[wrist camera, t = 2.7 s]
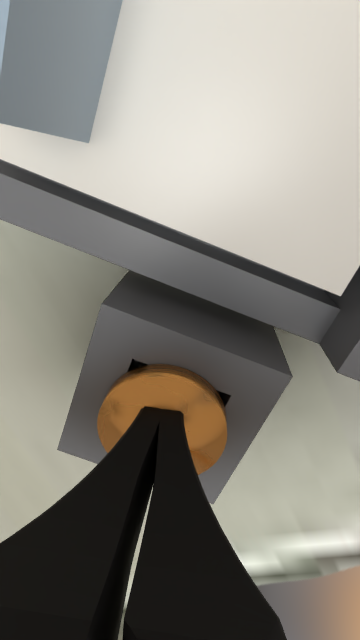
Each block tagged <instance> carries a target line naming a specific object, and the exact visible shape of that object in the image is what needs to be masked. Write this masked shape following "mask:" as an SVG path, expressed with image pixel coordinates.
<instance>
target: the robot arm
mask: <svg viewBox="0 0 360 640" xmlns="http://www.w3.org/2000/svg"><path fill="white" fill-rule="evenodd" d="M152 487H153V491H152V496H151V501H150V506H149V511H148V515H147V520H146V525H145V530H144V534H143V539H142V543H141V548H140V552H139V557H138V561H137V566H136V570H135V574H134V579H133V583H132V587H131V592H130V596H129V600H128V605H127V609H126V613H125V617H124V627H123V640H287V639H286V636H285V633H284V630H283V627H282V625H281V622H280V619H279V617H278V616H277V615H276V613H275V612H274V611H273V609H272V608H271V606H270V605H269V604H268V602H267V601H266V599H265V598H264V596H263V595H262V594H261V592H260V591H259V589H258V588H257V586H256V585H255V583H254V582H253V580H252V579H251V577H250V576H249V574H248V573H247V571H246V569H245V568H244V566H243V565H242V563H241V562H240V560H239V558H238V557H237V555H236V553H235V551H234V550H233V548H232V546H231V544H230V543H229V541H228V539H227V537H226V536H225V534H224V532H223V530H222V528H221V526H220V524H219V522H218V520H217V518H216V516H215V514H214V512H213V510H212V508H211V506H210V504H209V502H208V499H207V497H206V495H205V492H204V490H203V488H202V485H201V482H200V480H199V477H198V474H197V472H196V469H195V466H194V463H193V459H192V456H191V452H190V449H189V445H188V441H187V437H186V432H185V426H184V414H183V413H182V412H181V411H175V410H168V409H161V408H153V407H146V406H144V407H143V408H141V410H140V412H139V413H138V415H137V416H136V418H135V420H134V421H133V422H132V424H131V425H130V427H129V428H128V429H127V431H126V432H125V433H124V434H123V436H122V437H121V438H120V439H119V441H118V442H117V443H116V444H115V446H114V447H113V448H112V449H111V450H110V451H109V453H108V454H107V455H106V456H105V457H104V458H103V459H102V460H101V461H100V462H99V463H98V465H97V466H96V467H95V468H94V469H93V470H92V471H91V472H90V473H89V474H88V475H87V476H86V477H85V478H84V479H83V480H81V481H80V482H79V483H78V484H77V485H76V486H75V487H74V488H73V489H72V490H71V491H69V492H68V493H67V494H66V495H65V496H63V497H62V498H61V499H60V500H59V501H57V502H56V503H55V504H54V505H53V506H51V507H50V508H49V509H48V510H46V511H45V512H44V513H42V514H41V515H40V516H38V517H37V518H36V519H34V520H33V521H31V522H30V523H29V524H27V525H26V526H24V527H23V528H22V529H20V530H19V531H17V532H16V533H15V534H13V535H12V536H10V537H9V538H7V539H6V540H4V541H3V542H1V543H0V640H118V634H119V629H120V623H121V618H122V613H123V607H124V602H125V597H126V591H127V586H128V581H129V575H130V570H131V565H132V561H133V557H134V553H135V549H136V545H137V541H138V538H139V534H140V531H141V527H142V523H143V520H144V516H145V512H146V509H147V505H148V501H149V498H150V494H151V490H152Z"/></svg>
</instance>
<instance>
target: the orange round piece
mask: <svg viewBox="0 0 360 640" xmlns="http://www.w3.org/2000/svg"><path fill="white" fill-rule="evenodd" d="M144 406H146V407H153V408H161V409H168V410H175V411H181V412H182V413H183V414H184V426H185V432H186V437H187V441H188V445H189V449H190V452H191V456H192V459H193V463H194V466H195V469H196V472H197V474H198V475H199V474H201V473H203V472H205V471H206V470H208V469H209V468H210V467H212V466H213V465H214V464H215V463H216V462H217V461H218V459H219V458H220V456H221V455H222V453H223V451H224V449H225V445H226V442H227V422H226V411H225V406H224V404H223V401H222V399H221V397H220V391H218V390H216V389H215V388H214V387H213V386H212V385H211V384H210V383H209V382H208V381H207V380H205V379H204V378H203V377H201V376H200V375H198V374H196V373H195V372H192V371H190V370H188V369H185V368H182V367H179V366H174V365H167V364H152V365H148V364H145V363H143V362H140V364H139V366H138V368H135V369H133V370H131V371H129V372H127V373H125V374H124V375H122V376H121V377H120V378H118V379H117V380H116V381H115V383H114V384H113V385H112V386H111V388H110V389H109V391H108V393H107V395H106V397H105V399H104V402H103V404H102V406H101V408H100V410H99V414H98V418H97V430H98V435H99V438H100V441H101V443H102V445H103V447H104V449H105V450H106V452H107V453H109V451H110V450H111V449H112V448H113V447H114V446H115V444H116V443H117V442H118V441H119V439H120V438H121V437H122V436H123V434H124V433H125V432H126V431H127V429H128V428H129V427H130V425H131V424H132V422H133V421H134V420H135V418H136V416H137V415H138V413H139V412H140V410H141V408H143V407H144Z"/></svg>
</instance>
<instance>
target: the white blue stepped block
mask: <svg viewBox="0 0 360 640" xmlns="http://www.w3.org/2000/svg"><path fill="white" fill-rule="evenodd" d="M0 159H1V160H4V161H6V162H9V163H11V164H14V165H16V166H19V167H21V168H24V169H26V170H29V171H31V172H34V173H36V174H38V175H41V176H43V177H46V178H48V179H51V180H53V181H56V182H58V183H61V184H63V185H66V186H68V187H71V188H73V189H76V190H78V191H81V192H83V193H86V194H88V195H91V196H93V197H96V198H98V199H100V200H103V201H105V202H108V203H110V204H113V205H115V206H118V207H120V208H123V209H125V210H128V211H130V212H133V213H135V214H138V215H140V216H143V217H145V218H148V219H150V220H153V221H155V222H158V223H160V224H163V225H165V226H167V227H170V228H172V229H175V230H177V231H180V232H182V233H185V234H187V235H190V236H192V237H195V238H197V239H200V240H202V241H205V242H207V243H210V244H212V245H215V246H217V247H220V248H222V249H225V250H227V251H230V252H232V253H234V254H237V255H239V256H242V257H244V258H247V259H249V260H252V261H254V262H257V263H259V264H262V265H264V266H267V267H269V268H272V269H274V270H277V271H279V272H282V273H284V274H287V275H289V276H292V277H294V278H296V279H299V280H301V281H304V282H306V283H309V284H311V285H314V286H316V287H319V288H321V289H324V290H326V291H329V292H331V293H334V294H336V295H339V296H341V295H342V293H343V292H344V290H345V289H346V287H347V285H348V284H349V282H350V281H351V279H352V277H353V276H354V274H355V272H356V271H357V269H358V268H359V266H360V0H0Z"/></svg>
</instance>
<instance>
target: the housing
mask: <svg viewBox="0 0 360 640" xmlns="http://www.w3.org/2000/svg"><path fill="white" fill-rule="evenodd" d="M0 219H1V220H3V221H6V222H9V223H11V224H14V225H16V226H19V227H21V228H24V229H26V230H29V231H32V232H34V233H37V234H39V235H42V236H44V237H47V238H49V239H52V240H55V241H57V242H60V243H62V244H65V245H67V246H70V247H72V248H75V249H78V250H80V251H83V252H85V253H88V254H90V255H93V256H96V257H98V258H101V259H103V260H106V261H108V262H111V263H113V264H116V265H119V266H121V267H124V268H126V269H129V272H128V273H127V274H126V275H125V276H124V278H123V279H122V280H121V281H120V282H119V284H118V285H117V286H116V287H115V288H114V290H113V291H112V292H111V293H110V294H109V296H108V297H107V298H106V299H105V300H104V302H103V303H102V304H101V308H100V311H99V314H98V318H97V321H96V324H95V327H94V331H93V334H92V337H91V341H90V344H89V347H88V350H87V354H86V357H85V360H84V363H83V367H82V370H81V373H80V377H79V380H78V383H77V386H76V390H75V393H74V396H73V400H72V403H71V406H70V409H69V413H68V416H67V419H66V423H65V426H64V429H63V432H62V436H61V439H60V442H59V446H58V449H57V450H59V451H62V452H65V453H68V454H71V455H74V456H76V457H79V458H82V459H85V460H88V461H91V462H94V463H97V464H98V463H99V462H100V461H101V460H102V459H103V458H104V457H105V456H106V455H107V454H108V453H107V452H106V450H105V449H104V447H103V445H102V443H101V441H100V438H99V435H98V430H97V418H98V414H99V410H100V408H101V406H102V404H103V402H104V399H105V397H106V395H107V393H108V391H109V389H110V388H111V386H112V385H113V384H114V383H115V381H116V380H117V379H118V378H120V377H121V376H122V375H124V374H125V373H127V372H129V371H131V370H133V369H135V368H138V366H139V364H140V362H143V363H145V364H148V365H152V364H167V365H174V366H179V367H182V368H185V369H188V370H190V371H192V372H195V373H196V374H198V375H200V376H201V377H203V378H204V379H205V380H207V381H208V382H209V383H210V384H211V385H212V386H213V387H214V388H215V389H216V390H218V391H220V397H221V399H222V401H223V404H224V406H225V411H226V422H227V442H226V445H225V449H224V451H223V453H222V455H221V456H220V458H219V459H218V461H217V462H216V463H215V464H214V465H213V466H212V467H210V468H209V469H208V470H206V471H205V472H203V473H201V474H199V475H198V477H199V480H200V482H201V485H202V488H203V490H204V492H205V495H206V497H207V499H208V502H209V503H211V504H214V502H215V501H216V499H217V498H218V496H219V494H220V493H221V491H222V489H223V488H224V486H225V485H226V483H227V481H228V480H229V478H230V477H231V475H232V473H233V472H234V470H235V469H236V467H237V465H238V464H239V462H240V460H241V459H242V457H243V456H244V454H245V452H246V451H247V449H248V448H249V446H250V444H251V443H252V441H253V440H254V438H255V436H256V435H257V433H258V431H259V430H260V428H261V427H262V425H263V423H264V422H265V420H266V419H267V417H268V415H269V414H270V412H271V411H272V409H273V407H274V406H275V404H276V402H277V401H278V399H279V398H280V396H281V394H282V393H283V391H284V390H285V388H286V386H287V385H288V383H289V382H290V380H291V378H292V377H293V376H292V374H291V371H290V369H289V366H288V364H287V361H286V358H285V356H284V353H283V351H282V348H281V346H280V343H279V341H278V338H277V336H276V333H275V330H274V328H273V326H275V327H277V328H280V329H282V330H285V331H287V332H290V333H293V334H295V335H298V336H300V337H303V338H305V339H308V340H310V341H313V342H316V343H318V344H320V346H321V347H322V349H323V351H324V352H325V354H326V356H327V357H328V359H329V360H330V362H331V364H332V365H333V367H334V368H335V370H336V372H337V373H340V374H342V375H345V376H347V377H350V378H353V379H355V380H358V381H360V266H359V268H358V269H357V271H356V272H355V274H354V276H353V277H352V279H351V281H350V282H349V284H348V285H347V287H346V289H345V290H344V292H343V293H342V295H341V296H339V295H336V294H334V293H331V292H329V291H326V290H324V289H321V288H319V287H316V286H314V285H311V284H309V283H306V282H304V281H301V280H299V279H296V278H294V277H292V276H289V275H287V274H284V273H282V272H279V271H277V270H274V269H272V268H269V267H267V266H264V265H262V264H259V263H257V262H254V261H252V260H249V259H247V258H244V257H242V256H239V255H237V254H234V253H232V252H230V251H227V250H225V249H222V248H220V247H217V246H215V245H212V244H210V243H207V242H205V241H202V240H200V239H197V238H195V237H192V236H190V235H187V234H185V233H182V232H180V231H177V230H175V229H172V228H170V227H167V226H165V225H163V224H160V223H158V222H155V221H153V220H150V219H148V218H145V217H143V216H140V215H138V214H135V213H133V212H130V211H128V210H125V209H123V208H120V207H118V206H115V205H113V204H110V203H108V202H105V201H103V200H100V199H98V198H96V197H93V196H91V195H88V194H86V193H83V192H81V191H78V190H76V189H73V188H71V187H68V186H66V185H63V184H61V183H58V182H56V181H53V180H51V179H48V178H46V177H43V176H41V175H38V174H36V173H34V172H31V171H29V170H26V169H24V168H21V167H19V166H16V165H14V164H11V163H9V162H6V161H4V160H1V159H0Z"/></svg>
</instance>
